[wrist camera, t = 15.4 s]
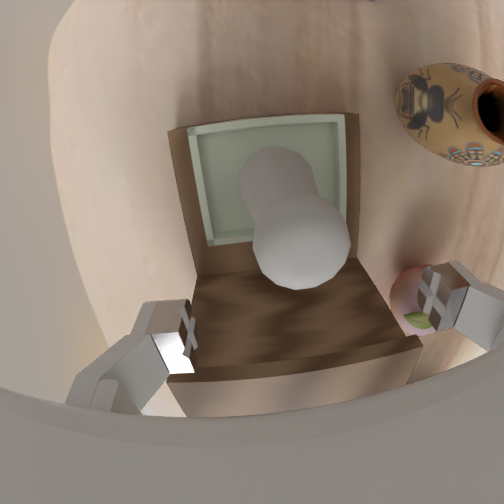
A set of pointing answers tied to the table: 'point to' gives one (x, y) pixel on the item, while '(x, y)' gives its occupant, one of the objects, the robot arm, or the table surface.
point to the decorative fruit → (409, 303)
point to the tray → (247, 144)
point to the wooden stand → (283, 319)
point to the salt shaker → (291, 220)
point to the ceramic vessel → (454, 113)
